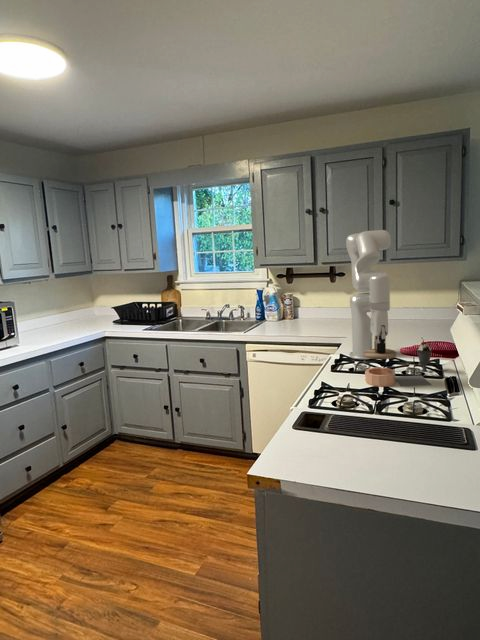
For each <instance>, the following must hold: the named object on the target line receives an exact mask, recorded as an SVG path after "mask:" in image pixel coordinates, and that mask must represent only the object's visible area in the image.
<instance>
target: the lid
mask: <svg viewBox="0 0 480 640" xmlns="http://www.w3.org/2000/svg"><path fill="white" fill-rule="evenodd" d="M374 341H375V350H374V348H372V349H368V350H365V351H364V356H365V357H367V358H371V360H390V359H394V358H396V357H397V351H396V350H393V349H391V348H386V353H377V343H378V339H376V340H374Z"/></svg>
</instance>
